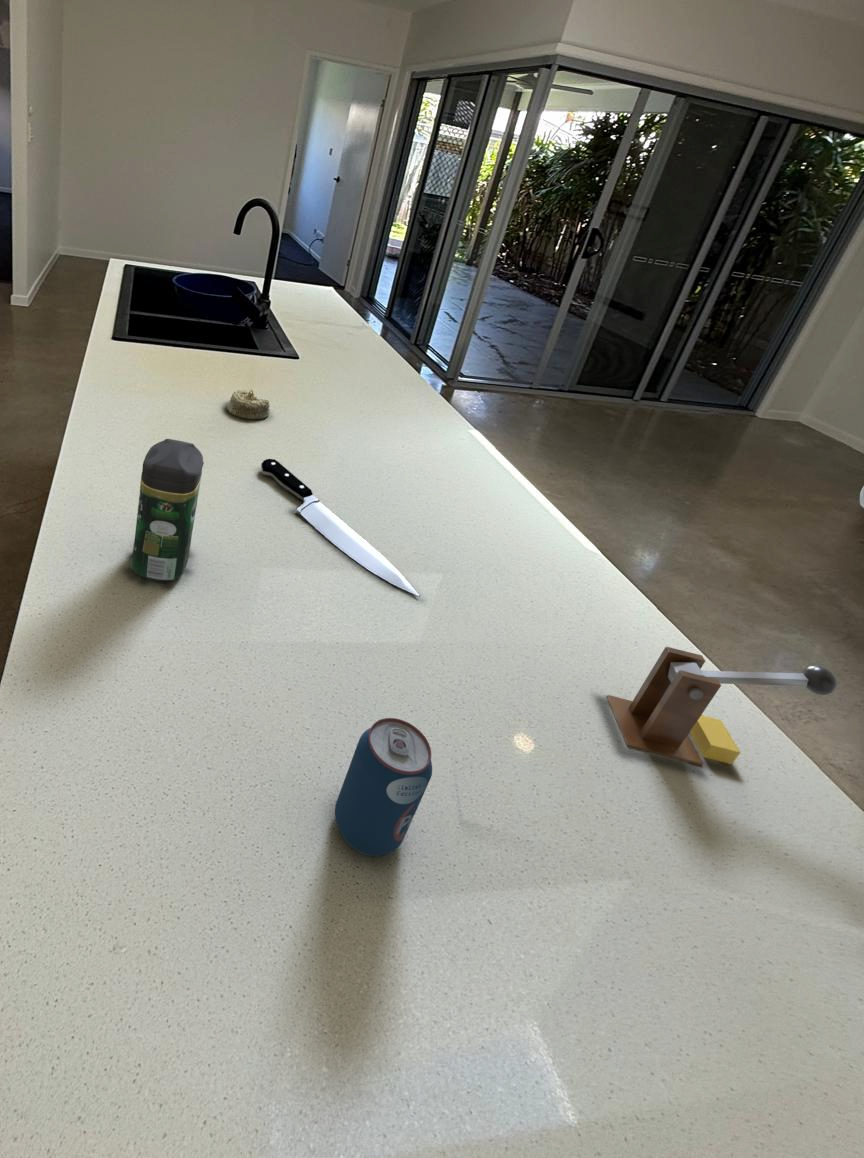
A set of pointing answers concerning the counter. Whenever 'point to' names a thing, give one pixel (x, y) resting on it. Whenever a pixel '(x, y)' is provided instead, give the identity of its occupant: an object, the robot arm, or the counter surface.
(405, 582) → the chef knife
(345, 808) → the soda can
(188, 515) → the coffee jar
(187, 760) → the counter surface
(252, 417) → the cake
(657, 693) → the stand
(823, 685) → the grey metal rod
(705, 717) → the butter
